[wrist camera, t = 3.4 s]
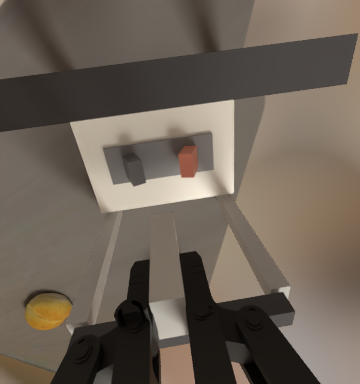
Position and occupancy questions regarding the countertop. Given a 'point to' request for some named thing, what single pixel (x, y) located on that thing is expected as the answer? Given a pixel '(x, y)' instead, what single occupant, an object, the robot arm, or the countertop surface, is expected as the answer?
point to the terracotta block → (188, 161)
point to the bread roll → (47, 310)
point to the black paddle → (134, 169)
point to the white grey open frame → (161, 184)
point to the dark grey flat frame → (177, 105)
